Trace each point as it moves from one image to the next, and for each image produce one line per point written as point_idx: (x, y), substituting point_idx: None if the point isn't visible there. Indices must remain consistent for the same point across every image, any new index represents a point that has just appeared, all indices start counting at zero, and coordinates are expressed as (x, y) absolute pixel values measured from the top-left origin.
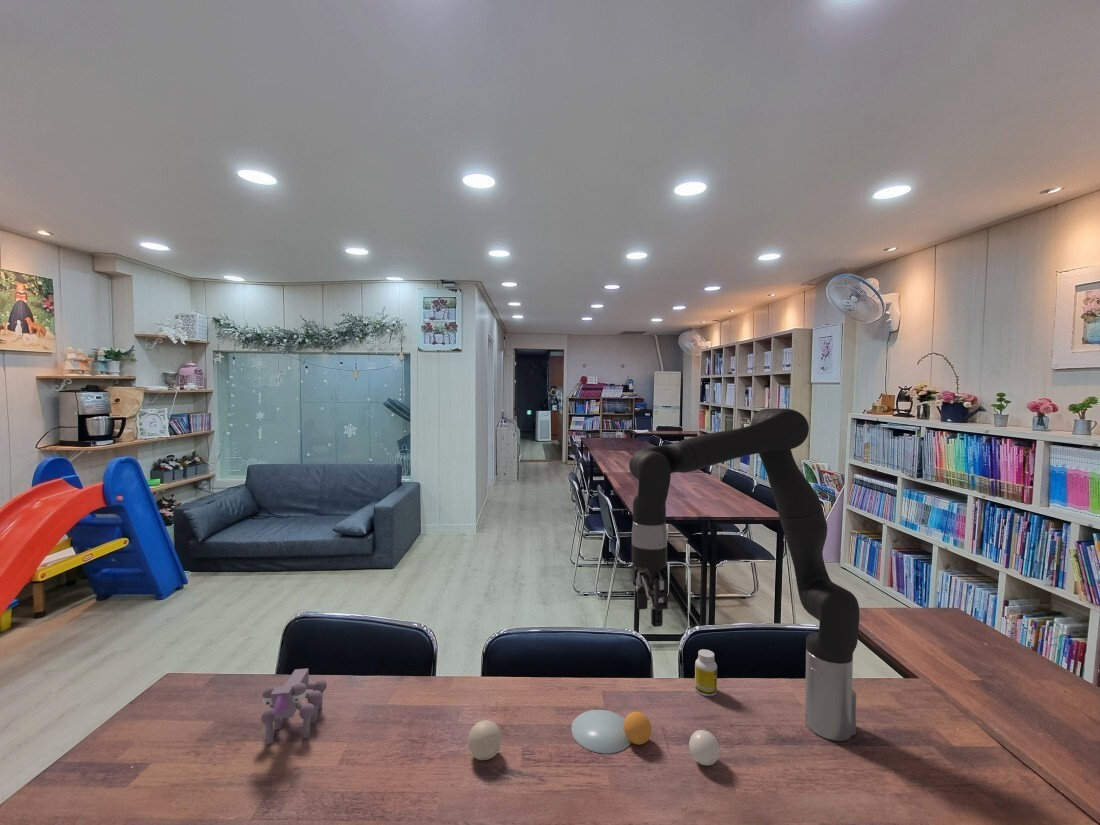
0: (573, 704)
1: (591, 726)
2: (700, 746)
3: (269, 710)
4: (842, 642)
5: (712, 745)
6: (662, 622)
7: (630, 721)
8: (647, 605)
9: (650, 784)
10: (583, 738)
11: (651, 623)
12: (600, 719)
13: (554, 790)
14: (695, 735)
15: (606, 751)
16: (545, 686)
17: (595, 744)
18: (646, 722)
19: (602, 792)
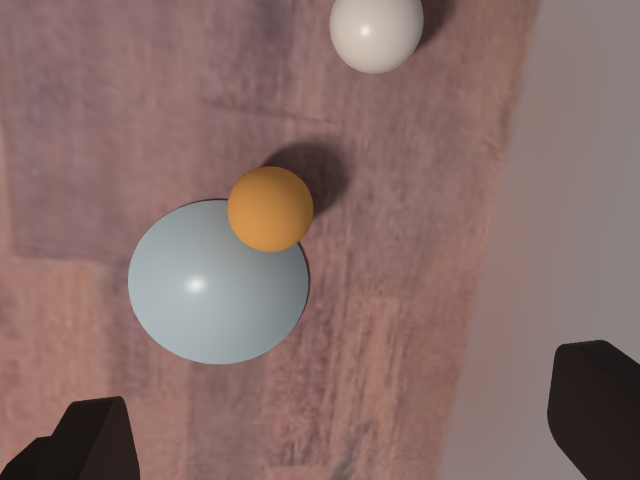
0: (99, 349)
1: (205, 313)
2: (410, 50)
3: None
4: None
5: (418, 7)
6: (623, 353)
7: (287, 243)
8: (110, 415)
9: (415, 207)
10: (252, 338)
11: (567, 446)
12: (175, 285)
13: (397, 405)
14: (378, 50)
15: (303, 289)
16: (6, 422)
17: (276, 312)
18: (295, 193)
19: (418, 315)
